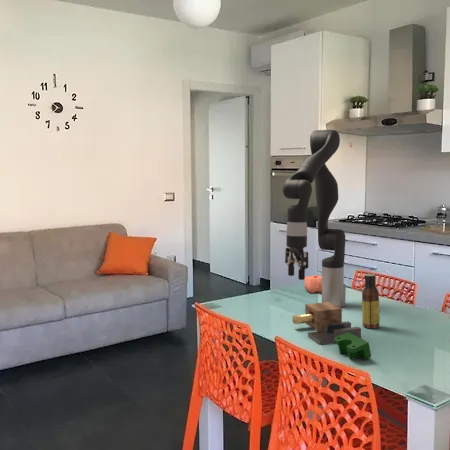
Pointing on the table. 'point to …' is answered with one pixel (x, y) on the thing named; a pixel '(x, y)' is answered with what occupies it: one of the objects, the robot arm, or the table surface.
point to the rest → (333, 332)
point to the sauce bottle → (370, 303)
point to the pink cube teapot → (313, 284)
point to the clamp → (353, 346)
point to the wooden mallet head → (323, 314)
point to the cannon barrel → (303, 318)
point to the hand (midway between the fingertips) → (296, 277)
